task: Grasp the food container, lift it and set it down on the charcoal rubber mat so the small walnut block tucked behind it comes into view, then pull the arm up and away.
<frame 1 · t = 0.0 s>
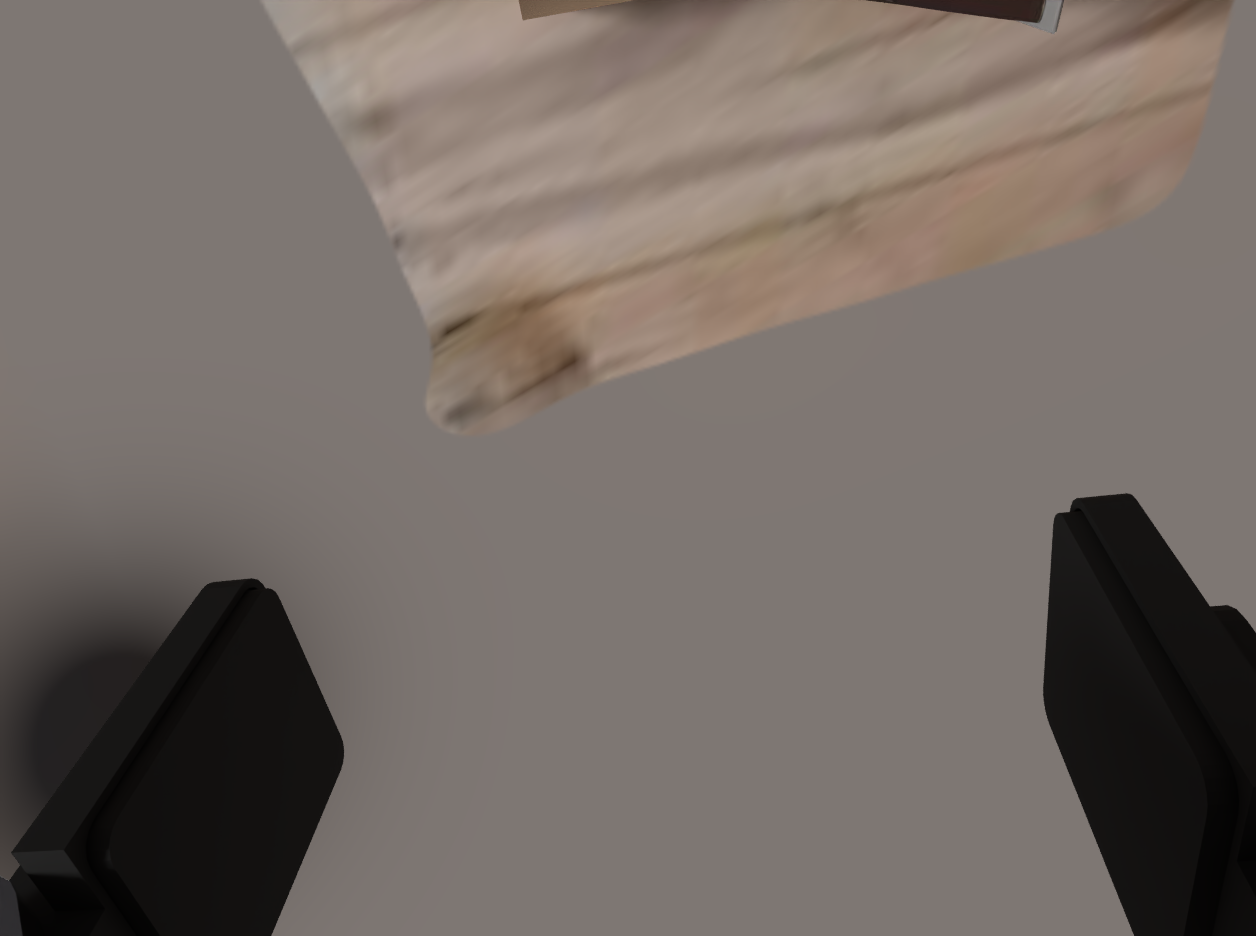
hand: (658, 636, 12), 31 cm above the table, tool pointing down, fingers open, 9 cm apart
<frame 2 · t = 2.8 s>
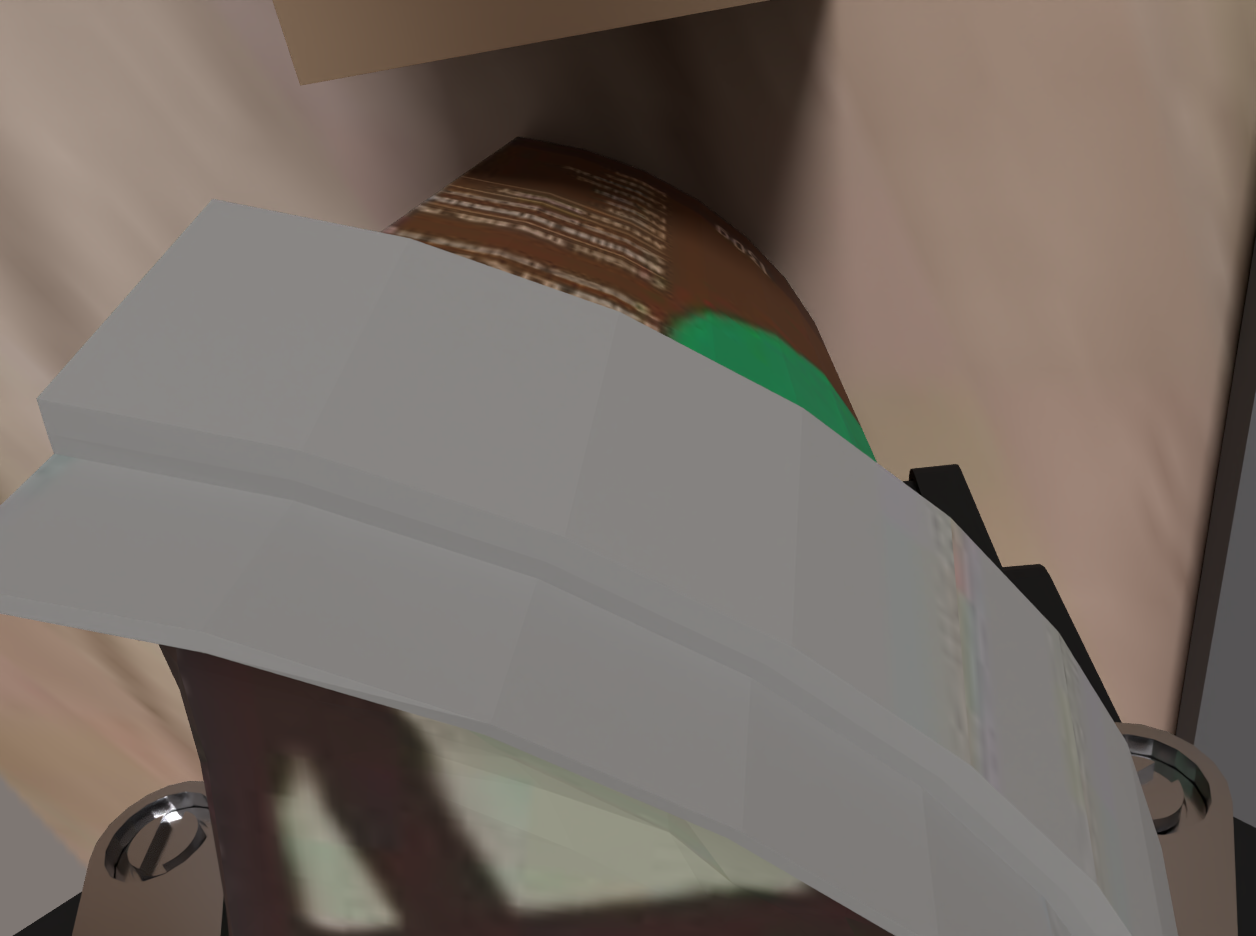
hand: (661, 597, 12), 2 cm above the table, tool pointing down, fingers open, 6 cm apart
food container: (712, 479, 14), on the table, touching gripper
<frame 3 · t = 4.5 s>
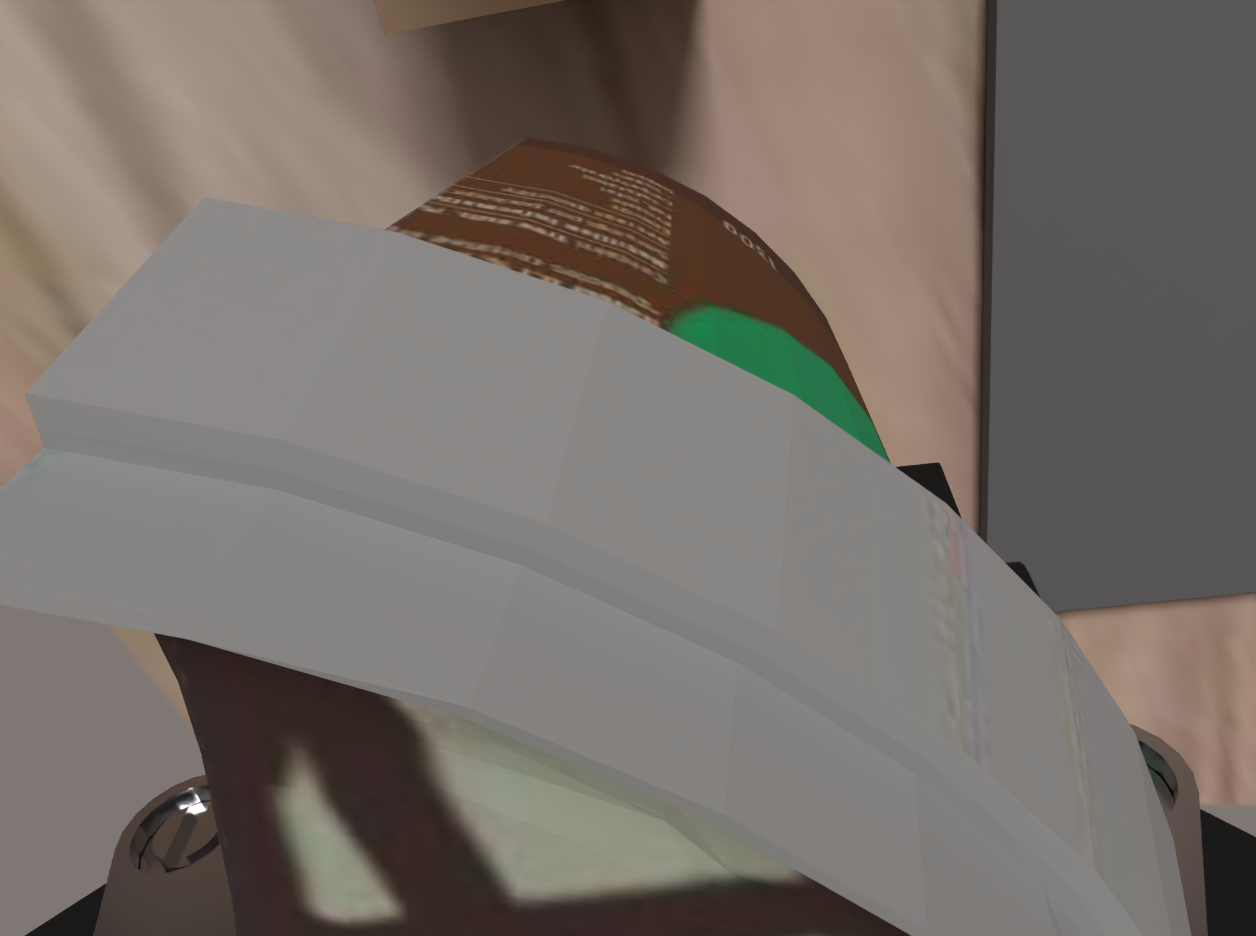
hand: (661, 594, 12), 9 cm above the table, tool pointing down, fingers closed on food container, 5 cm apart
food container: (726, 477, 14), point 6 cm above the table, touching gripper
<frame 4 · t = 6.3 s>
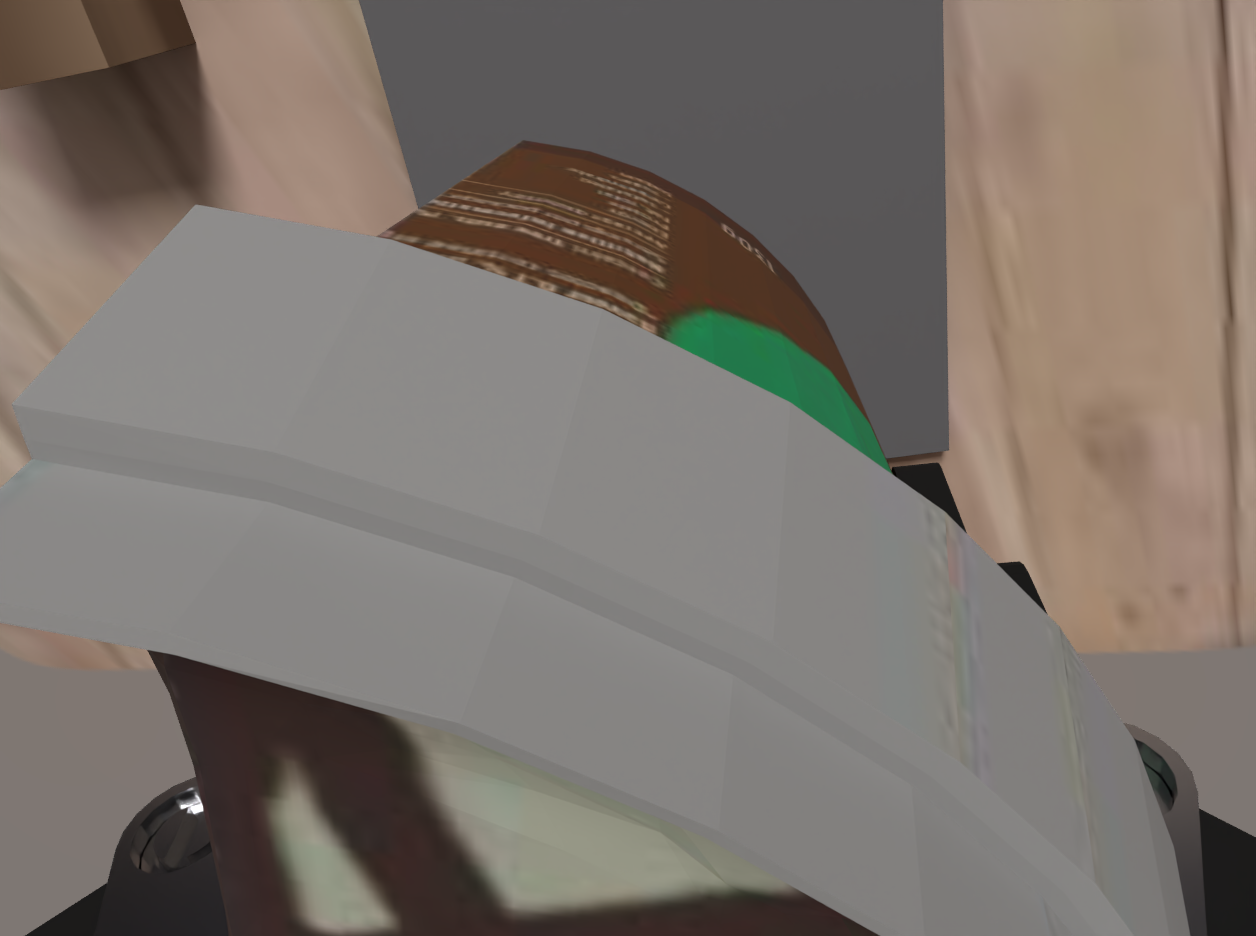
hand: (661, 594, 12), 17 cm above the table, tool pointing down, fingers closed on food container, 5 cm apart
mat: (682, 225, 27), on the table
food container: (725, 480, 14), point 14 cm above the table, touching gripper
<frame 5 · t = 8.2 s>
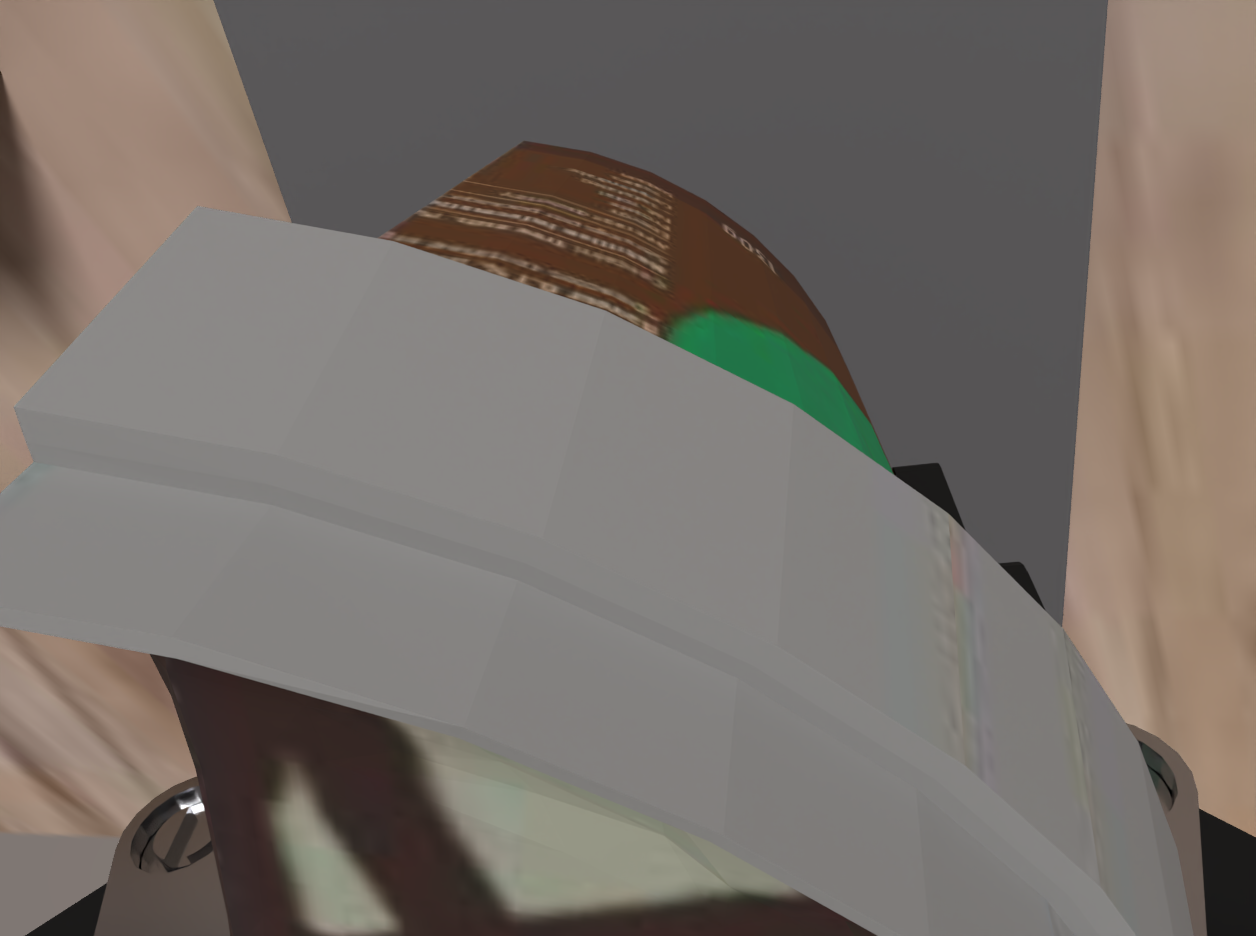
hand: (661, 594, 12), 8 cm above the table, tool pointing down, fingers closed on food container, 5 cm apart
mat: (697, 339, 19), on the table
food container: (726, 480, 14), point 5 cm above the table, touching gripper
when the fingers open (4 cm above the table, at t = 9.4 s): food container moves 1 cm, resting on mat.
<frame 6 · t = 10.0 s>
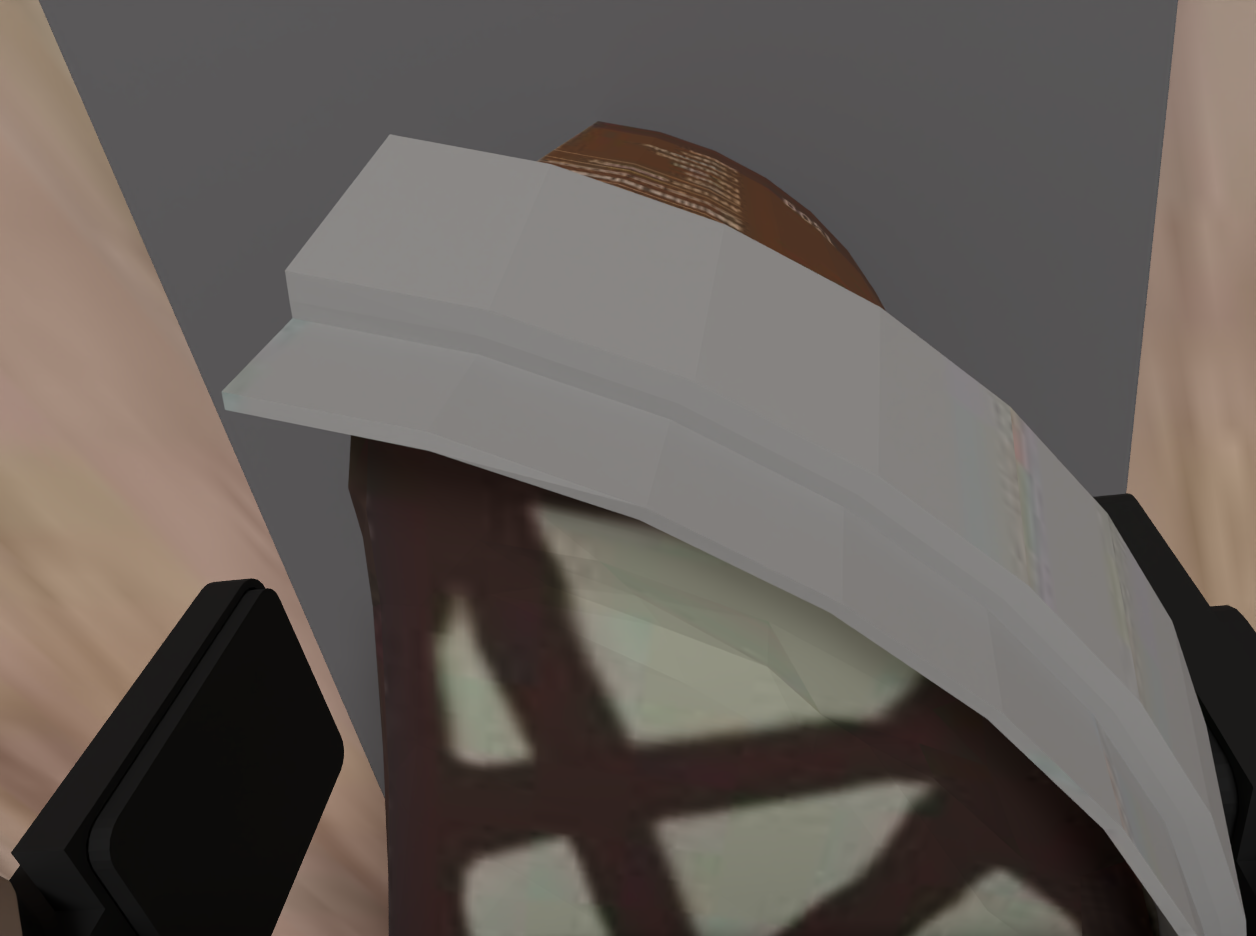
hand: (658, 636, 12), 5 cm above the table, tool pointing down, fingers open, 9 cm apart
mat: (667, 440, 16), on the table
food container: (777, 447, 15), point 1 cm above the table, touching gripper, mat
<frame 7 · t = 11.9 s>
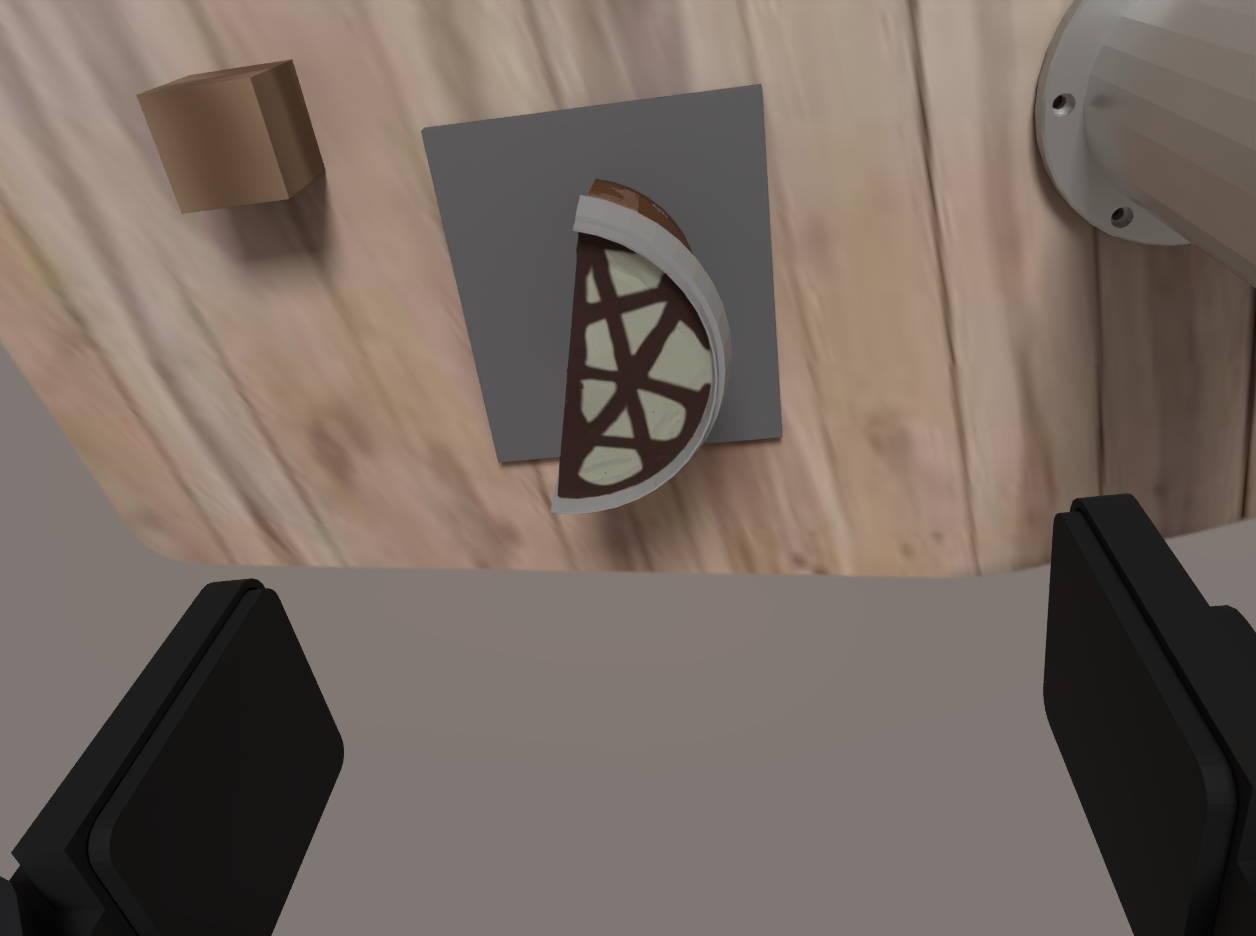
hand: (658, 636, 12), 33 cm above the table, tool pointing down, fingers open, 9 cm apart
walnut block: (259, 123, 41), on the table
mat: (616, 290, 44), on the table
food container: (654, 290, 43), resting on mat
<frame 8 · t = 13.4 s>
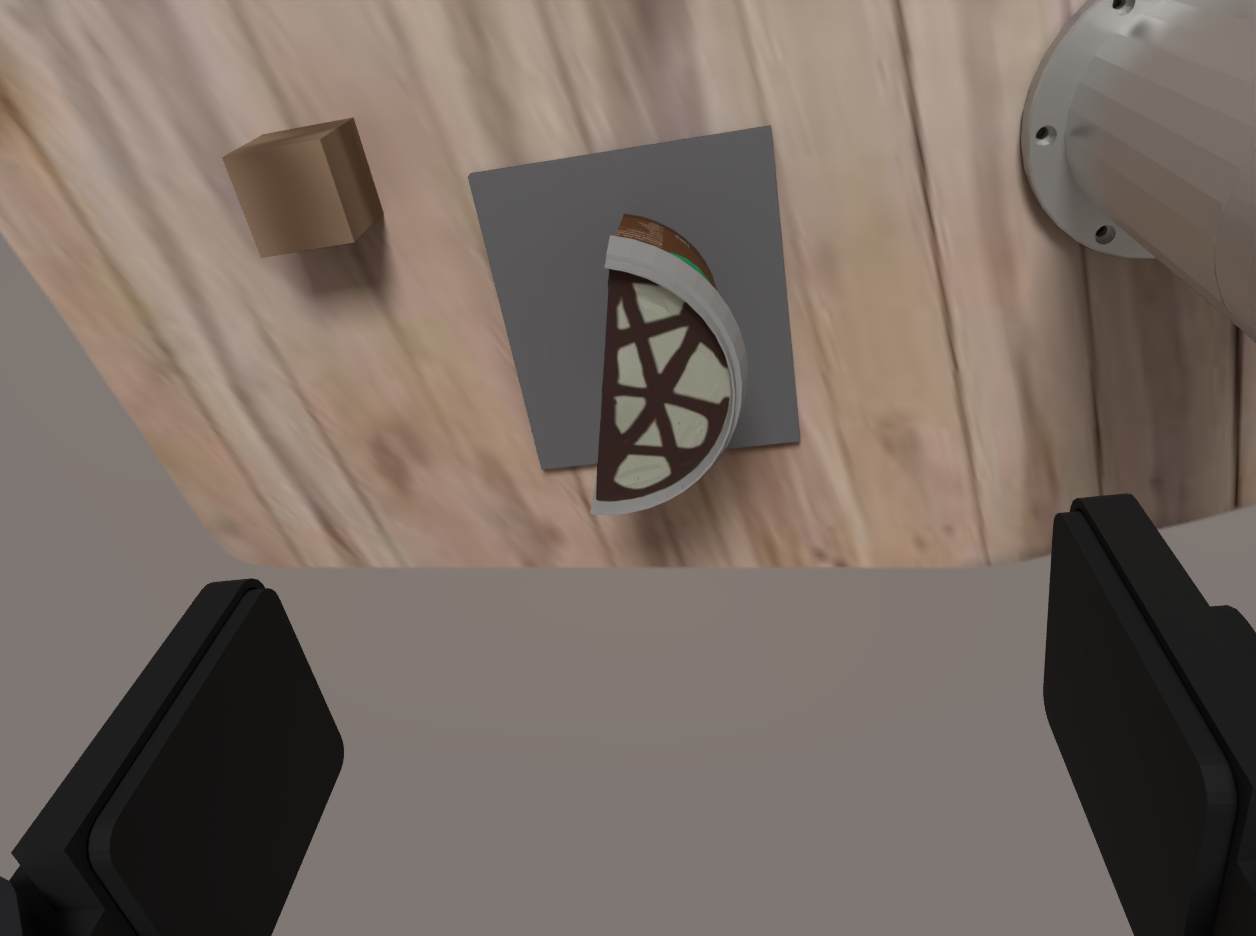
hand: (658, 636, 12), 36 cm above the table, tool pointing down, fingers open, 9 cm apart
walnut block: (325, 174, 46), on the table
mat: (645, 312, 48), on the table
food container: (679, 311, 48), resting on mat
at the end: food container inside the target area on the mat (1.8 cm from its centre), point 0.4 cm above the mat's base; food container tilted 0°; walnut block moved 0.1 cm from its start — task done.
